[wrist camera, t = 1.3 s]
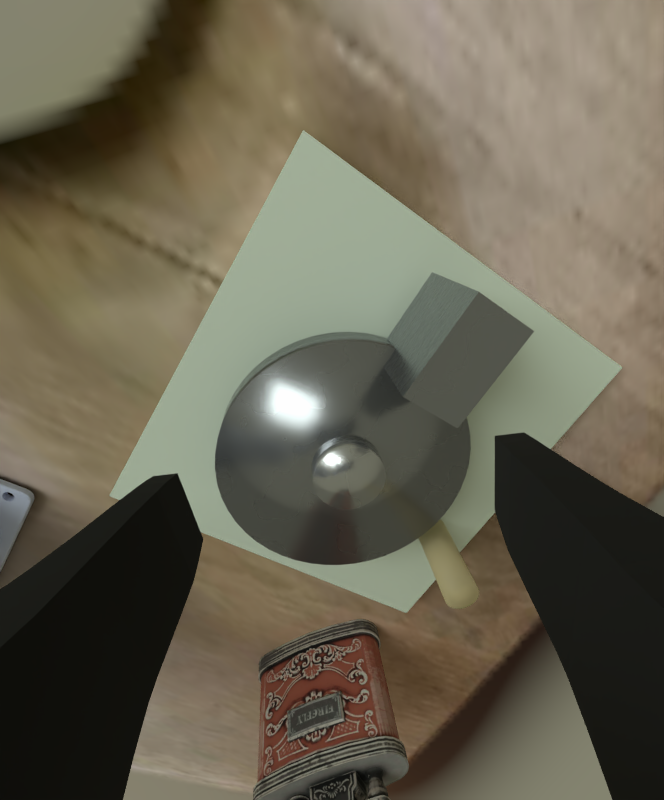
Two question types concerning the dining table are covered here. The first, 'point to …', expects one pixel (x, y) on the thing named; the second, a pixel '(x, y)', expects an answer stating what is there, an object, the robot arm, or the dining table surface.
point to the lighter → (327, 718)
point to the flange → (363, 429)
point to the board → (365, 313)
